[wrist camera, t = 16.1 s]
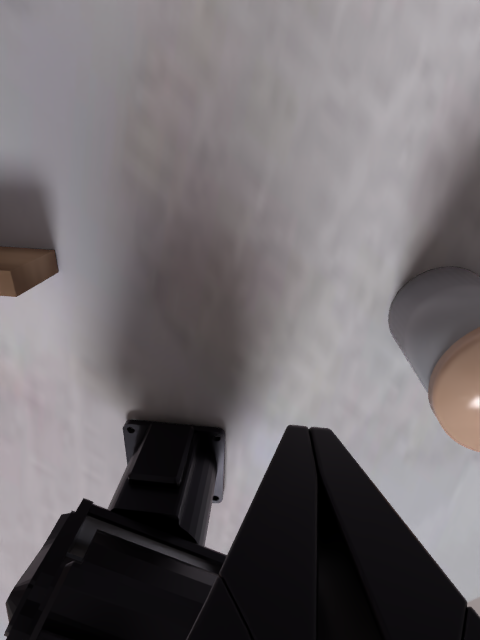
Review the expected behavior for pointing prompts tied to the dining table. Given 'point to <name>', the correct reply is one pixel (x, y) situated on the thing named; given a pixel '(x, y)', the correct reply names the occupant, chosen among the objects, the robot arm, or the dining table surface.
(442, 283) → the grey sugar pot
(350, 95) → the dining table surface
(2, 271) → the tray
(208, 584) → the robot arm
